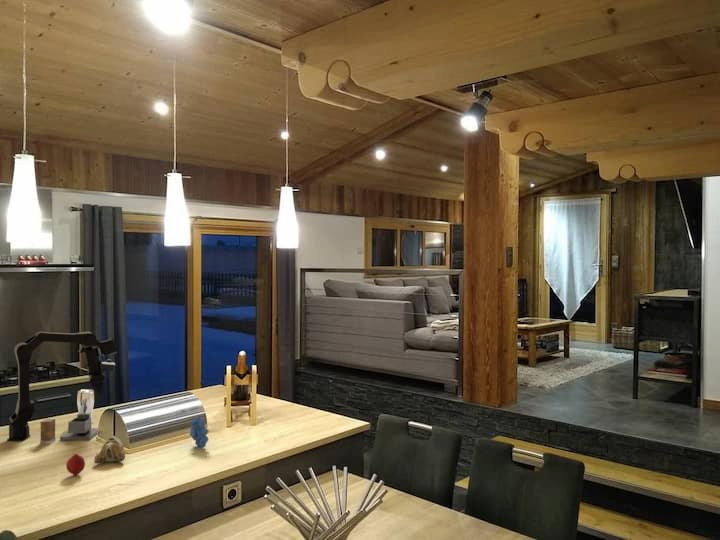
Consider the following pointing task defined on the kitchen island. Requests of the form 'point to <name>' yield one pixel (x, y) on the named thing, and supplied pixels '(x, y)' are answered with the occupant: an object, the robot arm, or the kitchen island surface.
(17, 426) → the robot arm
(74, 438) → the bracket
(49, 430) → the brown rectangular block
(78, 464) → the onion
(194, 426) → the grapes
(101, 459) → the ceramic sculpture
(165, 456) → the kitchen island surface
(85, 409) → the beer glass
